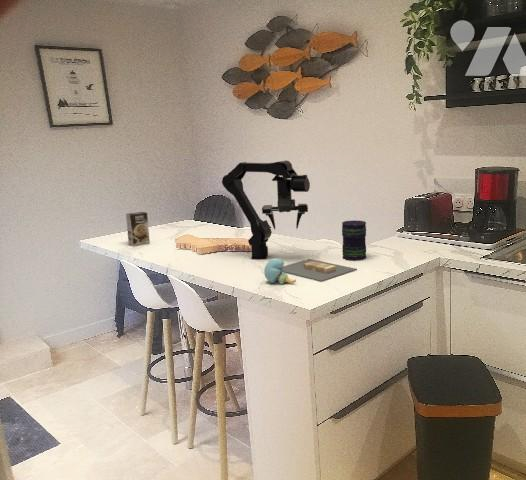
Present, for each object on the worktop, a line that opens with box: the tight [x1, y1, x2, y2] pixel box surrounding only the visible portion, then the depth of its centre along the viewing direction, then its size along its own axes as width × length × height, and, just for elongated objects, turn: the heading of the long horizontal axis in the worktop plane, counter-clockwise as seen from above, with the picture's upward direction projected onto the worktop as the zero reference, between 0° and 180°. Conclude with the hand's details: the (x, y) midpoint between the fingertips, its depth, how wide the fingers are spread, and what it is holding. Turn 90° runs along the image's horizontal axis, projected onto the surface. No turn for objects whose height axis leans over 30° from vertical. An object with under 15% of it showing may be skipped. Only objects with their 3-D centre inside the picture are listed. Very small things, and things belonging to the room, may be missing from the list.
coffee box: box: [125, 211, 151, 247], centre depth 259 cm, size 9×6×16 cm
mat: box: [283, 258, 358, 283], centre depth 197 cm, size 25×20×1 cm
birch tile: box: [303, 261, 336, 274], centre depth 194 cm, size 2×5×12 cm
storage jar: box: [341, 219, 367, 262], centre depth 210 cm, size 10×10×15 cm
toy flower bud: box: [263, 258, 297, 285], centre depth 181 cm, size 7×9×12 cm
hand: (285, 229), depth 212 cm, fingers open, 9 cm apart
